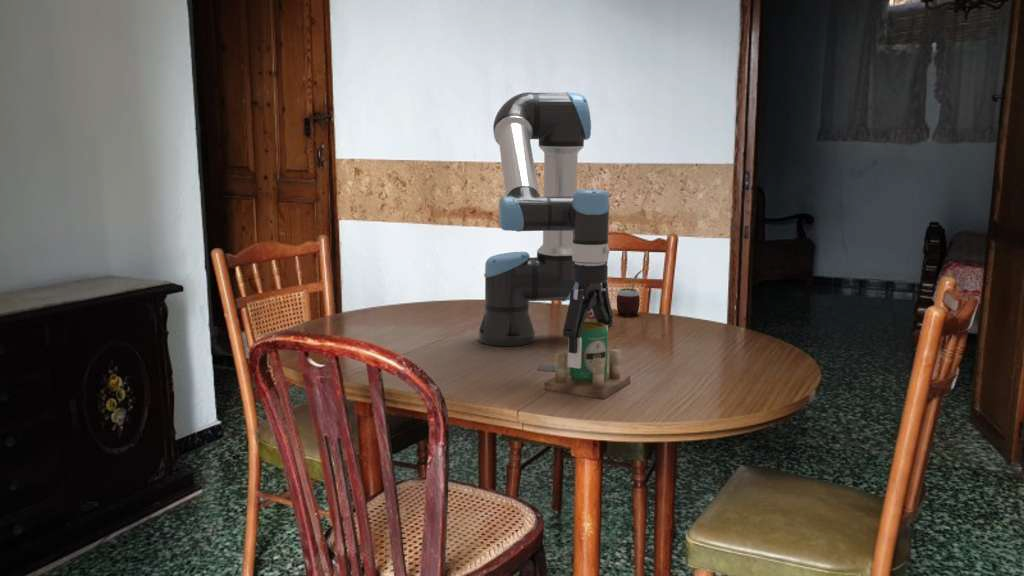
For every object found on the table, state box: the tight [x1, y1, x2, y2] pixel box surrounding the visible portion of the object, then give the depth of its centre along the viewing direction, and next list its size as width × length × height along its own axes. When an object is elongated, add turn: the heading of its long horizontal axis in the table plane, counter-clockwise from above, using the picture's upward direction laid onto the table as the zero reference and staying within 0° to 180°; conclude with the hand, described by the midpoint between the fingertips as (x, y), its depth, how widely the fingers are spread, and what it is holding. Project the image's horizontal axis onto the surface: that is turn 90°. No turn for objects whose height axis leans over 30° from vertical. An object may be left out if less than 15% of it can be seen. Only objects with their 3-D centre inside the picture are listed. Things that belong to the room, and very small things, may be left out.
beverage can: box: [570, 322, 609, 383], centre depth 182 cm, size 8×8×12 cm
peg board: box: [543, 348, 631, 400], centre depth 182 cm, size 14×14×8 cm
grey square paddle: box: [537, 363, 570, 372], centre depth 195 cm, size 14×4×1 cm, turn 76°
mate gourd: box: [616, 269, 644, 318], centre depth 256 cm, size 8×8×15 cm
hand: (588, 360), depth 182 cm, fingers open, 13 cm apart
